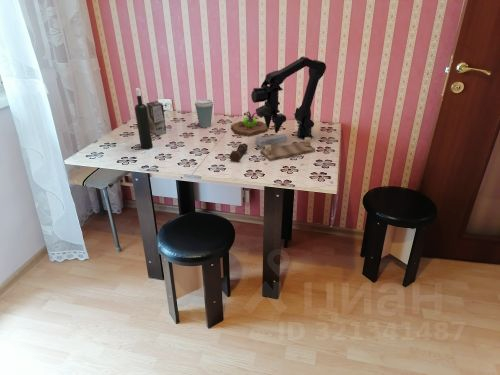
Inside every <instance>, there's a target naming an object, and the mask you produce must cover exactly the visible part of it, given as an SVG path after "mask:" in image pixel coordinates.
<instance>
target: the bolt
mask: <svg viewBox="0 0 500 375" xmlns="http://www.w3.org/2000/svg"><path fill="white" fill-rule="evenodd" d="M248 147H249V145H248V144H247V143H244V142H243V143H240V144H239V145H238V147H237V148H236V150H231V152H230V153H229V158H230V159H229V160H231V162H234V163H239V162H240V160H241V158H242V157H243V156H242V155H243V154H244V155H245V154H246V152H247V151H248Z"/></svg>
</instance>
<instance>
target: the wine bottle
mask: <svg viewBox="0 0 500 375" xmlns="http://www.w3.org/2000/svg"><path fill="white" fill-rule="evenodd" d="M135 94H136V95H135V96H136V99H137V104H136V105H135V106H134V112H135V118H136V124H137V125H136V126H137V130H138V131H137V132H138V136H139V142H140V148H141V149H142V150H150V149H153V147H154V145H153V140H152V139H153V138H152V132H151V131H150V124H149V118H148V111H147V106H146V104H145V103H143V100H142V99H143V98H142V92H141V88H140V87H136V88H135Z"/></svg>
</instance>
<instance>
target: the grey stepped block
mask: <svg viewBox="0 0 500 375" xmlns="http://www.w3.org/2000/svg"><path fill="white" fill-rule="evenodd" d="M254 139H255V140H254V144H256V145H257V146H258V147H259V148H265V145H271V146H272V145H275V144H280V143H286V142H287V141H288V135H287V134H285V133H279V134H275V135H269V136H259V137H255V138H254Z"/></svg>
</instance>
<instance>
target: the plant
mask: <svg viewBox="0 0 500 375" xmlns="http://www.w3.org/2000/svg"><path fill="white" fill-rule="evenodd" d="M255 114H256V115H257V113H256V112H254V113H253V114H252V115H251V113H250V111H246V112H244V113H243V116H247V118H245V117H242V120H240V121H238V122H235V123H233V124H231V126H230V129H231V130H232V132H233V134H237V135H239V136H245V137H253V136H257V135H260V134H265V133H266V132H268V130H270V126H269V127H267V126H266V122H263V121H261V120H259V119H257V118H255V117H254V116H255ZM256 119H257V120H256Z"/></svg>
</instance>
